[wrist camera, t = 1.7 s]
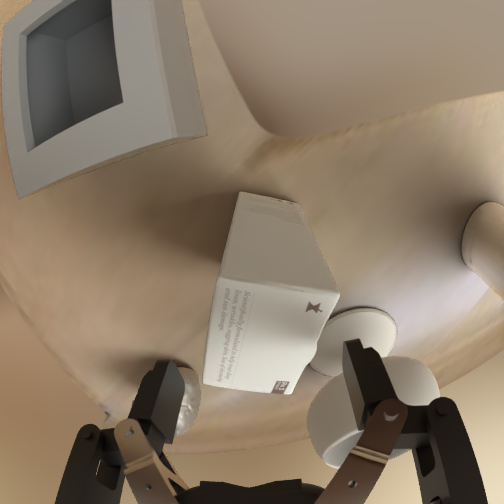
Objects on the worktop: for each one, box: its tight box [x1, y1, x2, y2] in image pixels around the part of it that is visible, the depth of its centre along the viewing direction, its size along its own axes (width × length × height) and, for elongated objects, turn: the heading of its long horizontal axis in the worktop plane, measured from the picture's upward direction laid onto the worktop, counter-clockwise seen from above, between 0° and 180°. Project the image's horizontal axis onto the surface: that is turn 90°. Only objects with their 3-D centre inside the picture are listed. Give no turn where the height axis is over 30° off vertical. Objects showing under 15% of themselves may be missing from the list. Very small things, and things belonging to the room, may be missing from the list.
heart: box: [132, 367, 201, 436], centre depth 31 cm, size 10×10×12 cm
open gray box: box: [1, 0, 207, 199], centre depth 16 cm, size 14×17×10 cm
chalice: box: [307, 308, 440, 468], centre depth 25 cm, size 14×14×15 cm
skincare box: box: [202, 192, 340, 394], centre depth 20 cm, size 8×6×15 cm
